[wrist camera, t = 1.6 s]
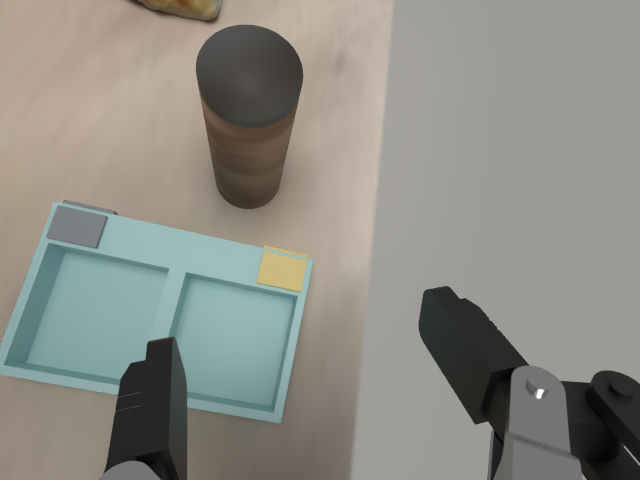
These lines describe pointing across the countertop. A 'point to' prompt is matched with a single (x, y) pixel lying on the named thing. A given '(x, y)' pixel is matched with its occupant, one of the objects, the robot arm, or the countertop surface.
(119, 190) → the countertop surface
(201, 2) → the pastry
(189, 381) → the socket block
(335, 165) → the countertop surface
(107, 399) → the countertop surface
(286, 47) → the walnut peg
